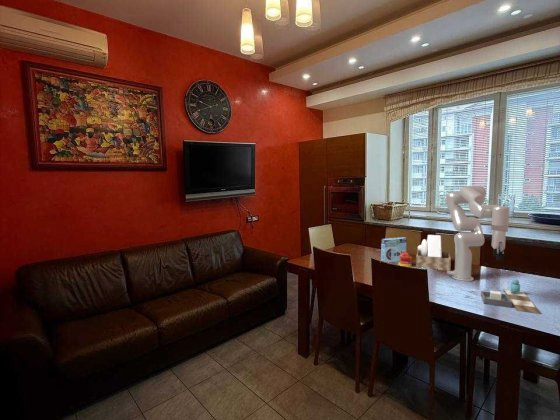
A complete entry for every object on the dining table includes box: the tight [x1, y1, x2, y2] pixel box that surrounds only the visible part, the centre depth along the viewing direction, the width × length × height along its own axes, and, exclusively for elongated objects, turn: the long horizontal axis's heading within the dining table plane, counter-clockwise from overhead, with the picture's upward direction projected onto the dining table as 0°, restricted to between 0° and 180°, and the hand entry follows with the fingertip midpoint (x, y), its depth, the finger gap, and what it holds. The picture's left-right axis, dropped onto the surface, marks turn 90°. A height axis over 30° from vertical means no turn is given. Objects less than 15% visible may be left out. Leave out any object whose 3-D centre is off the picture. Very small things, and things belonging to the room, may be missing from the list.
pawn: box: [510, 279, 521, 294], centre depth 175 cm, size 4×4×8 cm
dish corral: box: [415, 249, 452, 271], centre depth 235 cm, size 23×23×9 cm
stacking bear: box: [398, 251, 413, 268], centre depth 205 cm, size 11×10×18 cm
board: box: [503, 289, 542, 315], centre depth 165 cm, size 10×32×1 cm, turn 153°
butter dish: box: [417, 234, 442, 258], centre depth 237 cm, size 18×18×16 cm
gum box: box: [380, 236, 407, 265], centre depth 230 cm, size 20×5×23 cm, turn 106°
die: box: [489, 290, 502, 300], centre depth 165 cm, size 5×5×5 cm
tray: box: [480, 290, 513, 309], centre depth 164 cm, size 12×12×3 cm
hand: (498, 258), depth 169 cm, fingers open, 9 cm apart
